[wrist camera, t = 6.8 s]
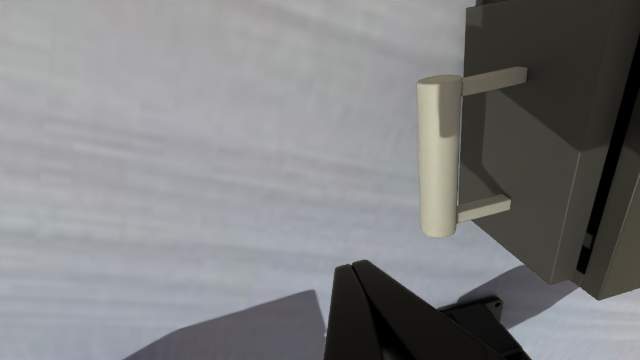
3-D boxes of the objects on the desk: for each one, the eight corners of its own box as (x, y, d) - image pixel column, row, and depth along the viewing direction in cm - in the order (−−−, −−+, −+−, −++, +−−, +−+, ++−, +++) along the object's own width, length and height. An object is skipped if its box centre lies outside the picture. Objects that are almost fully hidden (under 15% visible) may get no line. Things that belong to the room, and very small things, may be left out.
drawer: (392, 226, 19) (457, 313, 13) (378, 24, 14) (472, 10, 8) (639, 162, 21) (798, 212, 15) (704, -37, 16) (985, -87, 10)
